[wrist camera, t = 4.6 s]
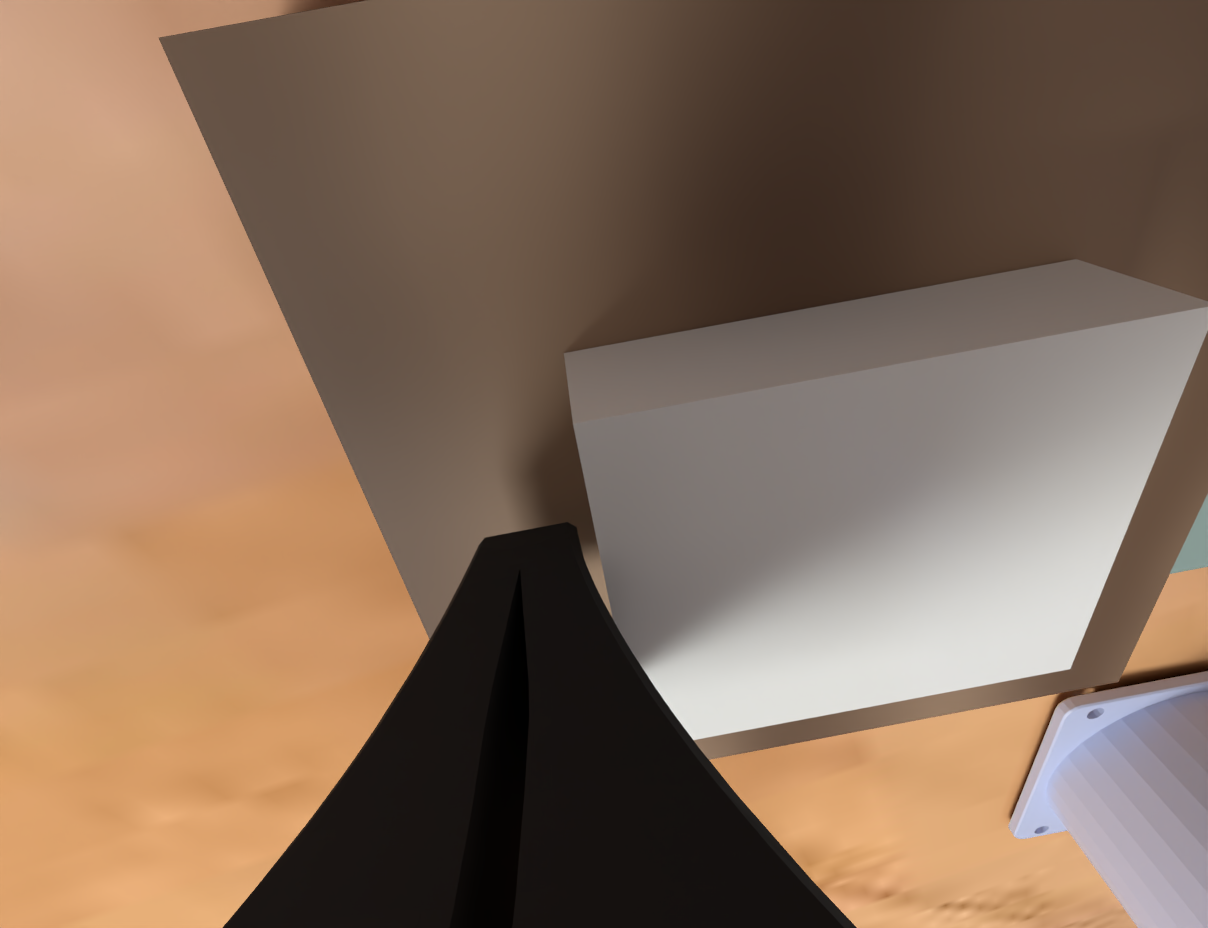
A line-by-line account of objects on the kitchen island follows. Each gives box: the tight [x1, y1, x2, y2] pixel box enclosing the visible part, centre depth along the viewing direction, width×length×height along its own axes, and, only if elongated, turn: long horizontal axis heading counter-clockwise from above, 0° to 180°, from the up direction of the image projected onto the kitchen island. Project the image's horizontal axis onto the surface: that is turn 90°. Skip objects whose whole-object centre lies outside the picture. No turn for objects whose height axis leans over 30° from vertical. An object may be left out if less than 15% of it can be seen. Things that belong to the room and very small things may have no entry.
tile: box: [564, 259, 1208, 740], centre depth 9 cm, size 7×6×2 cm
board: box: [159, 0, 1208, 760], centre depth 11 cm, size 14×14×3 cm
